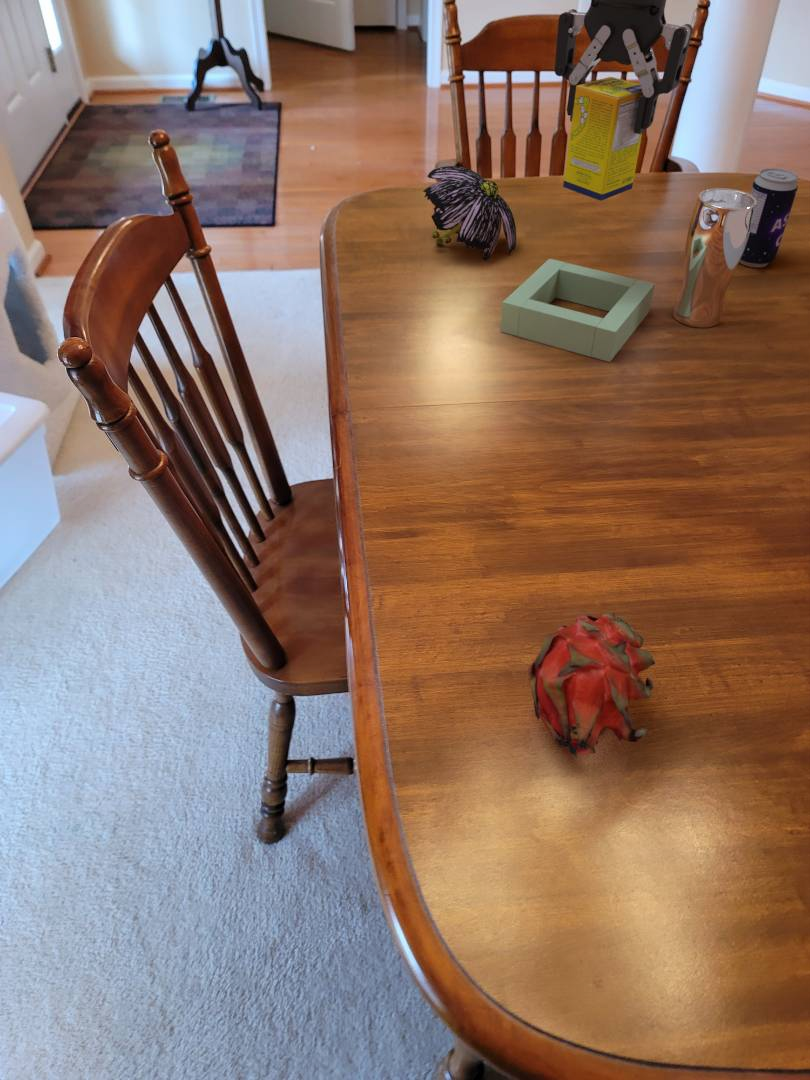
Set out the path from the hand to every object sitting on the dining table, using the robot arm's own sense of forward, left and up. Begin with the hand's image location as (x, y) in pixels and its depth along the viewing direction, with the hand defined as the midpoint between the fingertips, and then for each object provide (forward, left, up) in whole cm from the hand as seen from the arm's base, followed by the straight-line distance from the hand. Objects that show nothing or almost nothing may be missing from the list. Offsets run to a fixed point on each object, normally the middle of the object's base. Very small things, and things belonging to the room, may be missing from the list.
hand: (607, 125), depth 93 cm
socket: (-1, +3, -22) cm, 23 cm away
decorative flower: (+21, -10, -22) cm, 32 cm away
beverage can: (-16, -27, -22) cm, 38 cm away
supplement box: (0, 0, -7) cm, 7 cm away
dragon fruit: (-24, +59, -22) cm, 68 cm away
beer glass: (-14, -6, -22) cm, 27 cm away
